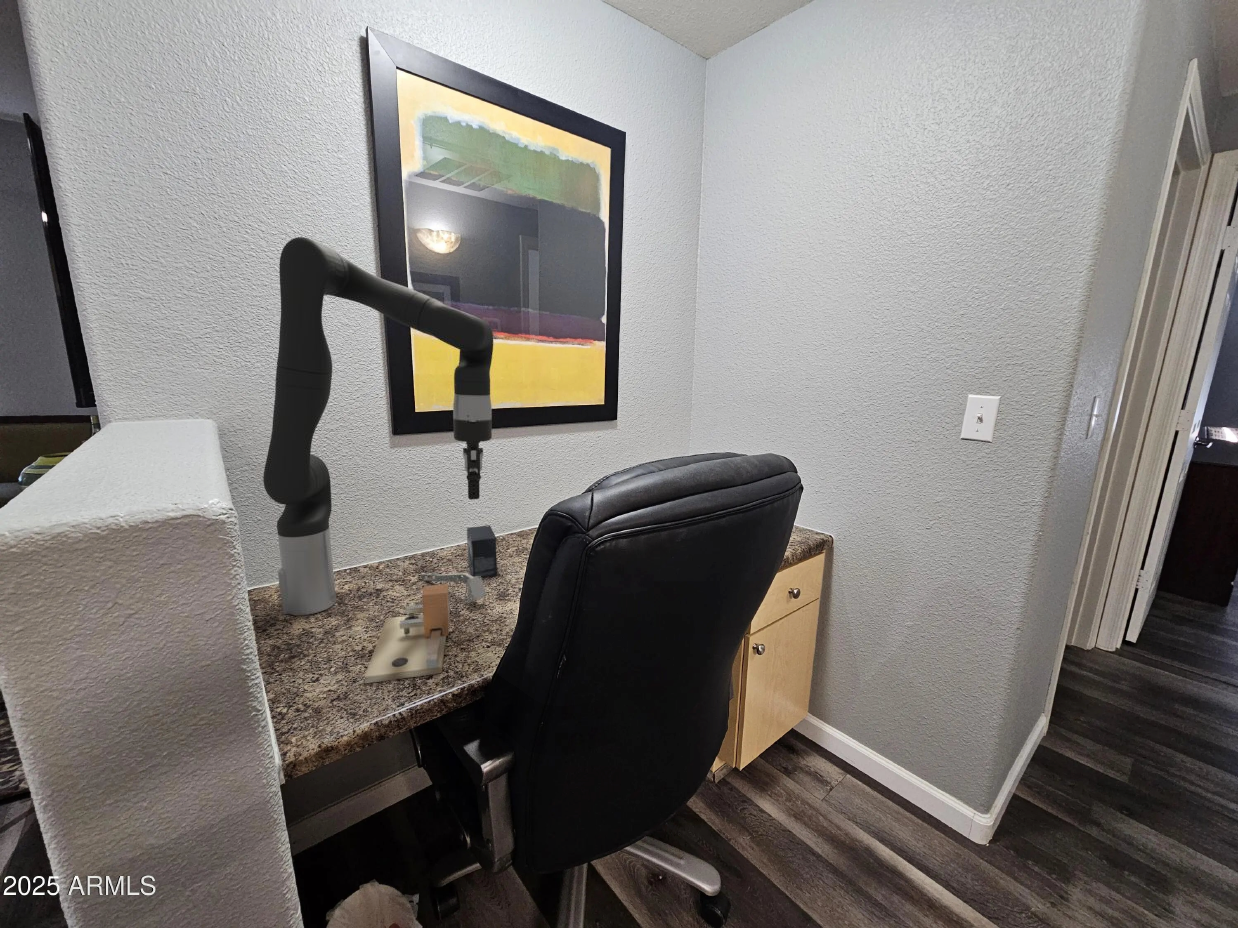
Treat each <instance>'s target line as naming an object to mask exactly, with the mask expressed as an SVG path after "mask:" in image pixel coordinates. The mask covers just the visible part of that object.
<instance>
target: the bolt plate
mask: <svg viewBox="0 0 1238 928" xmlns="http://www.w3.org/2000/svg"><path fill="white" fill-rule="evenodd" d="M419 618H423V613H422V614H414V619H419ZM401 620H409V615H406V616H396V617H395V616H394V617H387V618H385V621H384V623H383V626H382V629H381V632H380V634H379V636H378V637H379V638H378V639H377V643H376V645H375V647H374V651H373V654H372V656H371V659H370V660H369V664H368V666H367V668H366V672H365V674H364V677H363V678H364V684H370V683H377V682H385V681H394V680H399V679H408V678H414V677H415V678H416V677H423V676H429V675H437V674H442V673H443V663H444V656H445V649H446V641H447V635H443V628H442V635H441V642H440V649H439V656H438V663H437V667H435V668H428V669H427V661H426V660H427V654H428V649H429V644H430V638H431V637H425V630H424V626H422V627H413V628H410V633H409V634H407V635H405V634H404V629H400V625H399V624H400V621H401ZM431 633H432V632H431Z"/></svg>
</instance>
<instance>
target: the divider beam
mask: <svg viewBox="0 0 1238 928" xmlns="http://www.w3.org/2000/svg"><path fill="white" fill-rule="evenodd" d="M417 613H423V604H417V605H408V606H406V607H405V614H407V615H408V616H409V620H410V619H414V615H415V614H417ZM441 635H442V628H434V629H432V633H431V638H430V644H429V649H428V654H427V660H426V661H427V669H428V668H435V667H437V663H438V656H439V649H440V642H441Z"/></svg>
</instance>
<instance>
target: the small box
mask: <svg viewBox="0 0 1238 928" xmlns="http://www.w3.org/2000/svg"><path fill="white" fill-rule="evenodd" d="M466 535H467V537H466V540H467V542H466V543H467V558H468V566H469V569H470V572H471V576H473V577H474V576H481V579H483V578H489V577H490V578H491V577H495V576H498V575H499V574H498V573H499V572H498V559H497V536H496V535H495V533H494V530H493V529H492V526H491V525H489V524H487V525H480V526H479V525H478V526H472V527H467V528H466ZM479 578H480V577H479Z"/></svg>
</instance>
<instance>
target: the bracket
mask: <svg viewBox="0 0 1238 928" xmlns="http://www.w3.org/2000/svg"><path fill="white" fill-rule="evenodd" d="M426 576H427V577H429V576H431V577H435V578H426ZM420 577H421V581H424V582H445V583H446V582H447V583H449V582H450V583H451V582H452V583H453V582H455V583H463V584H466V587H465V589H464V590H465V592H464V597H463V598H464V601H465V603H466V604H469V603H470V604H471V603H472V602H474V601H478V600H480V599H483V598H485V597H487V591H486V588H485V586H484V582H483V578H481V576H474V577H473V576H472V574H470V573H467V572H462V573H461V572H460V573H447V574H445V573H444V574H440V573H439V574H438V573H437V572H436V571H435V572H432V573H430V572H429V573H427V572H422V573H420ZM479 577H480V578H479Z"/></svg>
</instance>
